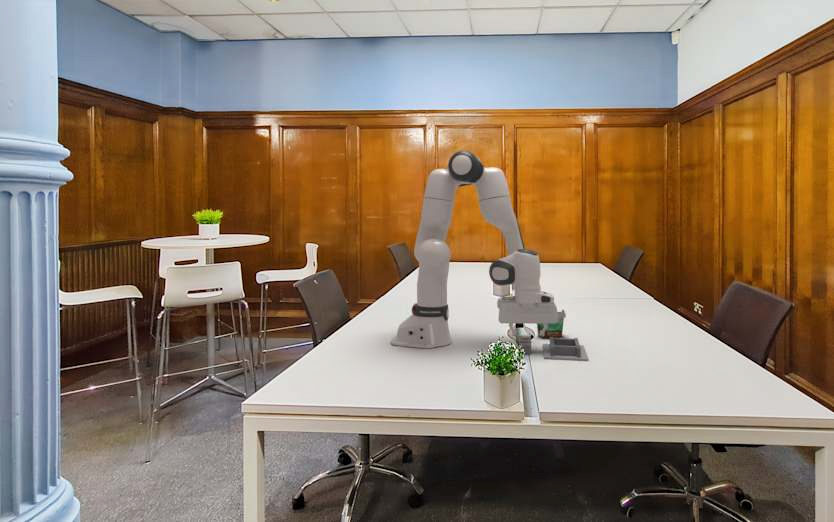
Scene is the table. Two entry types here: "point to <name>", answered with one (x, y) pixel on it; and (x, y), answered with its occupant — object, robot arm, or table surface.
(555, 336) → the food container
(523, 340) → the servo
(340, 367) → the table surface
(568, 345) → the pocket
